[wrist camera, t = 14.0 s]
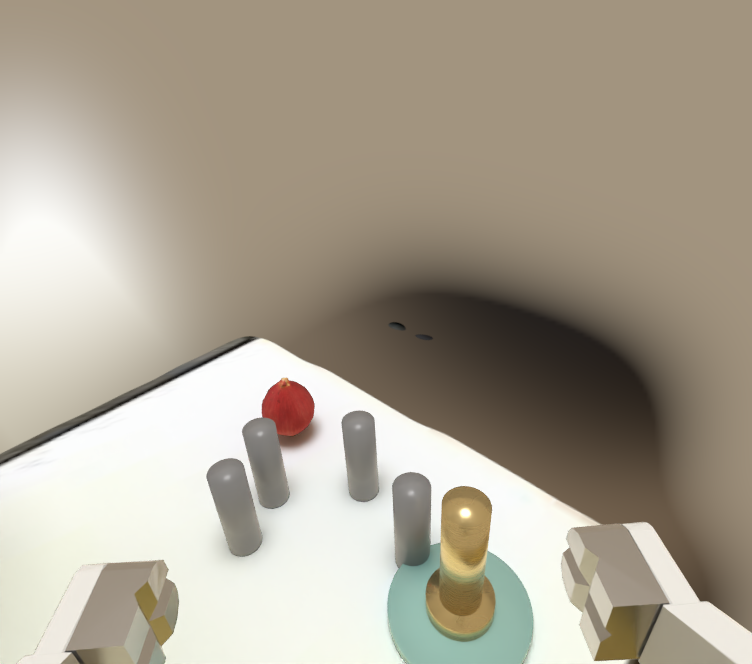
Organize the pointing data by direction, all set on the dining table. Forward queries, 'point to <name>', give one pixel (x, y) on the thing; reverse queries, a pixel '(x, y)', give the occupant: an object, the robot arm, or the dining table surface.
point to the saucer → (449, 657)
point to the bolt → (462, 568)
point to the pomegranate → (288, 407)
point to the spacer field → (274, 491)
